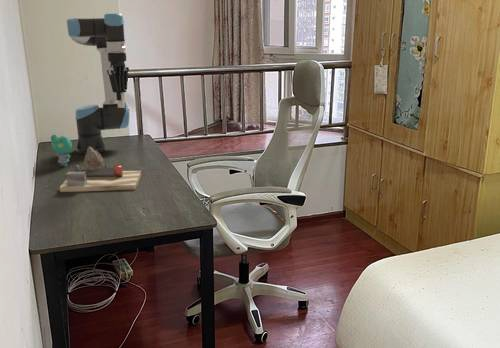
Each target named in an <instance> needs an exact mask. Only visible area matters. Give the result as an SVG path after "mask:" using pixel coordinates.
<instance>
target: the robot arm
mask: <svg viewBox="0 0 500 348" xmlns="http://www.w3.org/2000/svg"><path fill="white" fill-rule="evenodd" d="M66 25H67V34H68V37H70V39H71V40H73V42H75V43H77V44H79V45H83V46H87V47H88V46H90V47H92V46H93V47H96V51H98V52H99V54H100V63H101V73H102V74H101V75H102V81H103V90H104V101H103V103H102V107H99V105H98V104H89V105H84V106H80V107H78V108H77V109H76V110H75V121H76V128H77V141H76V145H75V152H76V153H77V154H80V155H86V152H87V149H88V147H92V148H93V149H94V150H96V151H97V152H98V153H100V154H101V153H103V152H106V150H107V144H106V141H105V140H104V138H103V136H102V131H105V130H106V131H108V130H109V131H110V130H120V129H127V128H128V126H129V124H130V106H129V105H127V102H126V101H125V93H126V92H127V90H128V78H129V70H130V68H129V67H127V66H126V63H125V62H126V61H127V52H126V41H125V40H126V39H125V27H124V25H125V21H124V16H123V14H122V13H105V14H104V16H103V17H101V18H99V17H98V18H97V17H96V18H95V17H93V18H75V17H74V18H67V20H66Z"/></svg>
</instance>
